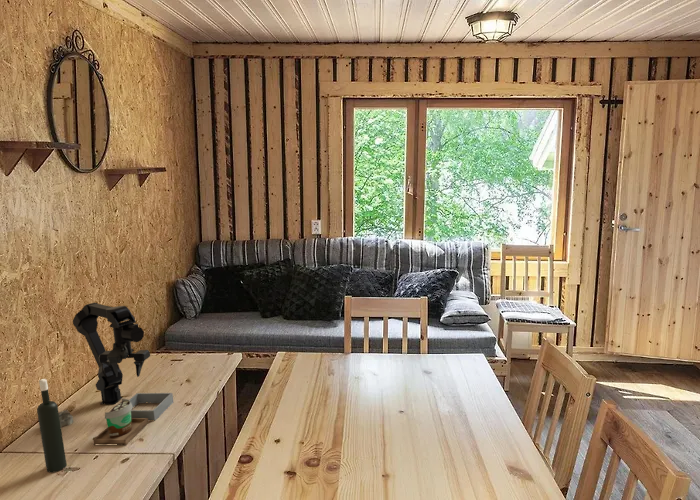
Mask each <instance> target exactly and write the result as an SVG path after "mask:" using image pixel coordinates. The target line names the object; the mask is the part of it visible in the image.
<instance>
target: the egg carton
mask: <svg viewBox="0 0 700 500" xmlns="http://www.w3.org/2000/svg"><path fill="white" fill-rule="evenodd" d="M58 412H59V411H58ZM73 418H74V416H73V415H72V414H71V413H70V411H69V410H68V409H64V410H61V411H60V412H59V419H60V425H61V428H62V427H64V426H71V425H72V423H74V419H73Z"/></svg>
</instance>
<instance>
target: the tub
mask: <svg viewBox="0 0 700 500" xmlns="http://www.w3.org/2000/svg"><path fill="white" fill-rule="evenodd" d="M128 400H130V402H131V404H132V406H133V407H134V406H135V405H136V406H137V405H138V404H158V405H157V406H156V407H155V408H153V409H146V410H143V409H138V410H137V409H132V410H131V418H148V420H154V421H153V422H155V421H157V420H158V419H159V418H160V417H161V415H163V413H165V412H166V411H167V409H169V407H170V406H171V405H172V404H173V403H174V395H173V392H146V393H145V392H140V393H139V392H138V393H137V392H136V394H134V395H133V396H131V397H130V399H128ZM146 402H148V403H146ZM150 402H151V403H150ZM136 406H135V407H136ZM135 407H134V408H135Z"/></svg>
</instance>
